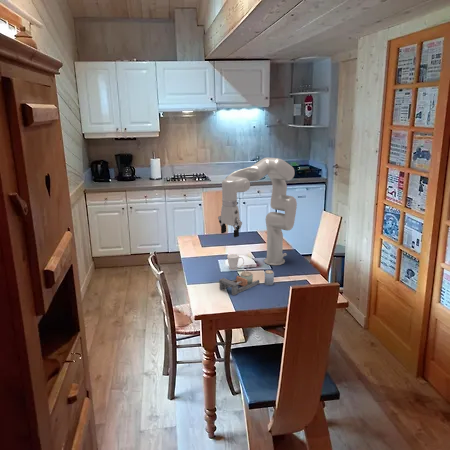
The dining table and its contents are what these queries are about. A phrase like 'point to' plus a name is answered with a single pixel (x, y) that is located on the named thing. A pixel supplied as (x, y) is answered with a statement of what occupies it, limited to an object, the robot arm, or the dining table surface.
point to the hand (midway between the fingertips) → (229, 234)
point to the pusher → (240, 281)
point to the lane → (235, 285)
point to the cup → (233, 261)
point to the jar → (269, 277)
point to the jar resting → (247, 276)
